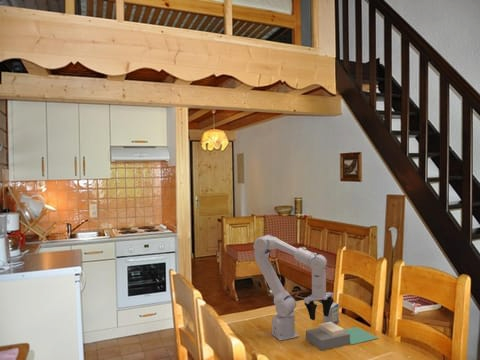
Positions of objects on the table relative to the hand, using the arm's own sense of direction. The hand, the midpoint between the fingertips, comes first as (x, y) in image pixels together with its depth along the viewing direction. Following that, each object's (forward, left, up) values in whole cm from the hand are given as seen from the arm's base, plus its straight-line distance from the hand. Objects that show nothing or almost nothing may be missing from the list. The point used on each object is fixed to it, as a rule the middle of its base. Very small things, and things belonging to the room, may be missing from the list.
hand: (319, 317), depth 153 cm
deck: (+3, -2, -10) cm, 10 cm away
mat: (+17, -2, -10) cm, 20 cm away
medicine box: (+17, +14, -10) cm, 24 cm away
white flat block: (+5, -2, -6) cm, 8 cm away
